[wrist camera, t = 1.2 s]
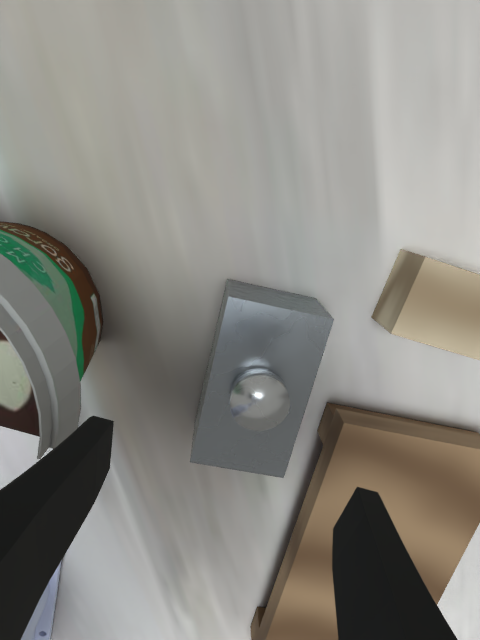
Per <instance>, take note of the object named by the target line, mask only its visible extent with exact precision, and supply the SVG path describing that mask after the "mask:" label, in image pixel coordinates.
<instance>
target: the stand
mask: <svg viewBox="0 0 480 640" xmlns="http://www.w3.org/2000/svg"><path fill="white" fill-rule="evenodd" d="M318 434H319V436H320V439H321V441H322V444H323V448H322V450H321V453H320V456H319V459H318V462H317V465H316V467H315V470H314V473H313V476H312V479H311V482H310V485H309V487H308V490H307V493H306V496H305V499H304V502H303V505H302V507H301V510H300V513H299V516H298V519H297V522H296V524H295V527H294V530H293V533H292V536H291V539H290V542H289V544H288V547H287V550H286V553H285V556H284V559H283V562H282V564H281V567H280V570H279V573H278V576H277V579H276V581H275V584H274V587H273V590H272V593H271V596H270V599H269V601H268V604H267V607H266V608H263V607H257V609H256V612H255V615H254V618H253V621H252V624H251V640H338V629H337V618H336V607H335V596H334V584H333V572H332V544H333V528H334V526H335V524H336V522H337V521H338V519H339V517H340V515H341V514H342V512H343V510H344V509H345V507H346V505H347V503H348V502H349V500H350V498H351V496H352V495H353V493H354V491H355V489H356V488H357V487H360V488H364V489H368V490H372V491H375V492H378V493H379V495H380V497H381V499H382V501H383V503H384V505H385V507H386V509H387V511H388V513H389V515H390V517H391V519H392V522H393V524H394V526H395V528H396V530H397V532H398V534H399V536H400V538H401V540H402V542H403V544H404V546H405V548H406V550H407V551H408V553H409V555H410V557H411V559H412V561H413V563H414V565H415V567H416V569H417V570H418V572H419V574H420V576H421V578H422V580H423V582H424V583H425V585H426V587H427V589H428V591H429V592H430V594H431V596H432V598H433V600H434V601H435V603H436V605H437V604H438V602H439V600H440V598H441V596H442V594H443V592H444V590H445V588H446V586H447V584H448V582H449V581H450V579H451V577H452V575H453V573H454V571H455V569H456V567H457V565H458V563H459V561H460V559H461V557H462V556H463V554H464V552H465V550H466V548H467V546H468V544H469V542H470V540H471V538H472V536H473V534H474V532H475V530H476V529H477V527H478V525H479V523H480V434H479V433H477V432H472V431H467V430H462V429H457V428H452V427H447V426H442V425H437V424H432V423H427V422H422V421H417V420H412V419H407V418H402V417H397V416H392V415H387V414H382V413H377V412H372V411H367V410H362V409H357V408H352V407H347V406H341V405H336V404H331V403H327V404H326V407H325V410H324V413H323V416H322V419H321V422H320V425H319V428H318Z"/></svg>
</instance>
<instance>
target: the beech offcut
mask: <svg viewBox="0 0 480 640" xmlns="http://www.w3.org/2000/svg"><path fill="white" fill-rule="evenodd" d="M372 318H373V319H374V320H375V321H377V322H378V323H379V324H380V325H381V326H382V327H384V328H385V329H386V330H387V331H388V332H390V333H391V334H394V335H397V336H400V337H404V338H407V339H410V340H414V341H417V342H420V343H424V344H427V345H430V346H434V347H437V348H440V349H444V350H447V351H450V352H454V353H457V354H460V355H464V356H467V357H471V358H474V359H477V360H480V275H479V274H476V273H473V272H470V271H467V270H463V269H460V268H457V267H454V266H451V265H448V264H445V263H442V262H439V261H436V260H433V259H430V258H427V257H424V256H421V255H418V254H415V253H412V252H409V251H405V250H402V249H401V250H400V252H399V254H398V257H397V259H396V261H395V264H394V266H393V268H392V271H391V273H390V275H389V278H388V280H387V282H386V285H385V287H384V289H383V292H382V294H381V296H380V299H379V301H378V303H377V306H376V308H375V310H374V312H373V315H372Z"/></svg>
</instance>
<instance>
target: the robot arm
mask: <svg viewBox="0 0 480 640" xmlns="http://www.w3.org/2000/svg"><path fill="white" fill-rule="evenodd" d="M113 423H114V421H111V420H107V419H104V418H100V417H96V416H92V417H90V418H88V419H87V420H86V421H85V422H84V423H83V424H82V425H81V426H80V427H78V428H77V429H76V430H75V431H74V432H73V433H72V434H71V435H69V436H68V437H67V438H66V439H65V440H64V441H63V442H61V443H60V444H59V445H58V446H57V447H55V448H54V449H53V450H52V451H51V452H49V453H48V454H47V455H46V456H44V457H43V458H42V459H41V460H39V461H38V462H37V463H36V464H34V465H33V466H32V467H31V468H29V469H28V470H27V471H26V472H24V473H23V474H22V475H20V476H19V477H17V478H16V479H15V480H13V481H12V482H11V483H9V484H8V485H7V486H5V487H4V488H2V489H1V490H0V640H51V633H52V626H53V619H54V611H55V604H56V597H57V590H58V583H59V576H60V569H61V561H62V558H63V557H64V555H65V553H66V551H67V550H68V548H69V546H70V545H71V543H72V541H73V539H74V538H75V536H76V534H77V532H78V531H79V529H80V527H81V525H82V524H83V522H84V520H85V518H86V517H87V515H88V513H89V511H90V510H91V508H92V506H93V504H94V502H95V500H96V498H97V496H98V494H99V491H100V489H101V487H102V485H103V482H104V480H105V478H106V475H107V473H108V471H109V469H110V458H111V447H112V435H113ZM332 572H333V584H334V596H335V607H336V618H337V629H338V640H457V638H456V636H455V635H454V633H453V632H452V630H451V628H450V627H449V625H448V623H447V622H446V620H445V618H444V617H443V615H442V613H441V611H440V610H439V608H438V606H437V605H436V603H435V601H434V600H433V598H432V596H431V594H430V592H429V591H428V589H427V587H426V585H425V583H424V582H423V580H422V578H421V576H420V574H419V572H418V570H417V569H416V567H415V565H414V563H413V561H412V559H411V557H410V555H409V553H408V551H407V550H406V548H405V546H404V544H403V542H402V540H401V538H400V536H399V534H398V532H397V530H396V528H395V526H394V524H393V522H392V519H391V517H390V515H389V513H388V511H387V509H386V507H385V505H384V503H383V501H382V499H381V497H380V495H379V493H378V492H375V491H372V490H368V489H364V488H360V487H357V488H356V489H355V491H354V493H353V495H352V496H351V498H350V500H349V502H348V503H347V505H346V507H345V509H344V510H343V512H342V514H341V515H340V517H339V519H338V521H337V522H336V524H335V526H334V528H333V544H332Z"/></svg>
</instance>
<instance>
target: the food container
mask: <svg viewBox="0 0 480 640" xmlns="http://www.w3.org/2000/svg"><path fill="white" fill-rule="evenodd" d="M102 325H103V318H102V310H101V303H100V296H99V293H98V291H97V289H96V287H95V285H94V282H93V280H92V278H91V276H90V274H89V272H88V270H87V268H86V267H85V266H84V265H83V264H82V263H81V261H80V260H79V259H78V258H77V257H76V256H75V255H74V254H73V253H72V251H71V250H70V249H69V248H68V247H67V246H66V245H64V244H63V243H61V242H60V241H58V240H56V239H55V238H53V237H52V236H50V235H49V234H47V233H45V232H43V231H40V230H38V229H36V228H33V227H30V226H26V225H22V224H18V223H9V222H0V426H3V427H6V428H10V429H14V430H18V431H21V432H25V433H28V434H32V435H36V436H39V437H40V440H39V448H38V456H37V459H40V458H41V457H42V456H43V454H44V453H45V452H46V450H47V449H48V448H49V447H50V448H53V449H54V448H55V447H57V446H58V445H59V444H60V443H61V442H63V441H64V440H65V439H66V438H67V437H68V436H69V435H71V434H72V433H73V432H74V431H75V430H76V429H77V428H78V423H79V417H80V410H81V384H80V381H81V379H82V377H83V375H84V373H85V371H86V369H87V367H88V365H89V362H90V360H91V358H92V356H93V354H94V352H95V350H96V348H97V346H98V344H99V342H100V338H101V331H102Z"/></svg>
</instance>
